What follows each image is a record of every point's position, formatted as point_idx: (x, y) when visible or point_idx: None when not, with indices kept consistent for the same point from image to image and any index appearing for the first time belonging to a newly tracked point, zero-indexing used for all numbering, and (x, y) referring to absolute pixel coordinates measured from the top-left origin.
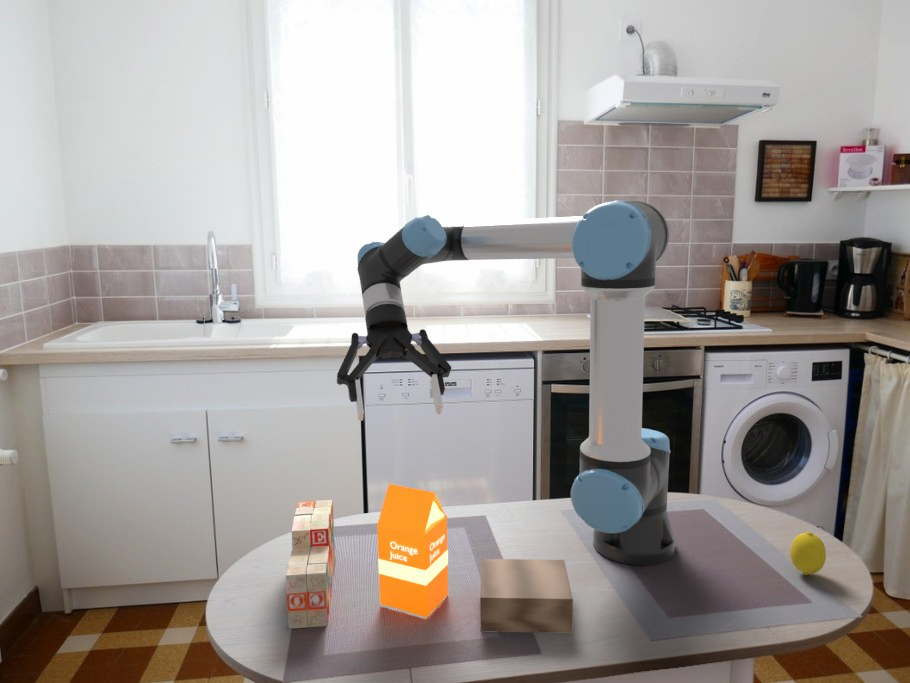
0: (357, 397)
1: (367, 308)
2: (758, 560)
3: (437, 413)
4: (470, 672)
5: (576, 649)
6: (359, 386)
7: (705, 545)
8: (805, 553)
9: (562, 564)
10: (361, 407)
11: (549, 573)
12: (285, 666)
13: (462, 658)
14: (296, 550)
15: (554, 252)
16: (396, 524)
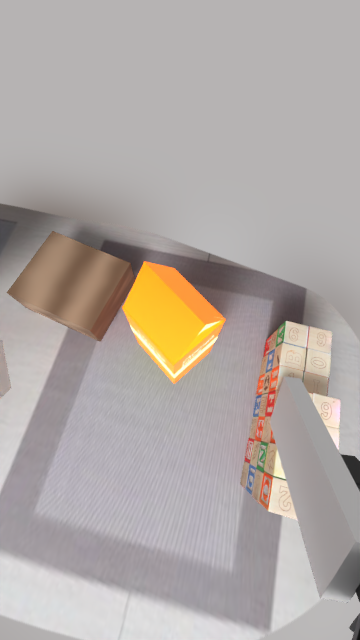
0: (327, 430)
1: None
2: None
3: (7, 383)
4: (166, 240)
5: (76, 234)
6: (337, 487)
7: None
8: None
9: (16, 284)
10: (297, 390)
11: (41, 274)
12: (305, 298)
13: (165, 256)
14: (321, 391)
15: None
16: (202, 298)
